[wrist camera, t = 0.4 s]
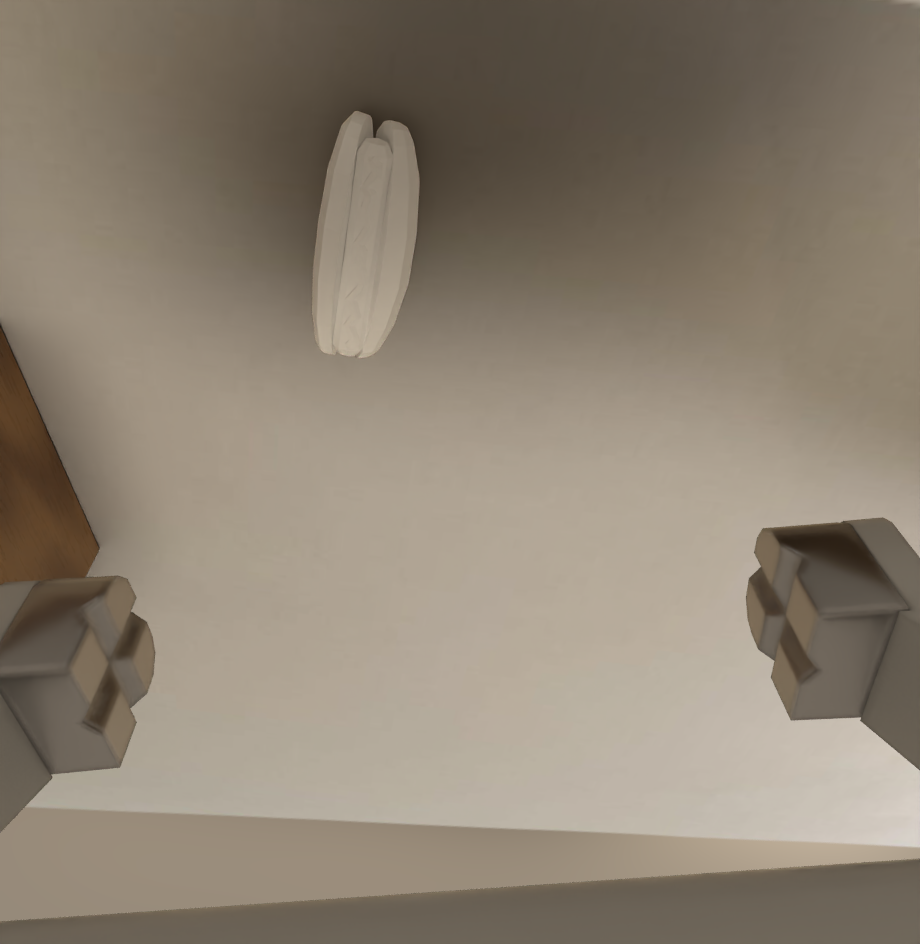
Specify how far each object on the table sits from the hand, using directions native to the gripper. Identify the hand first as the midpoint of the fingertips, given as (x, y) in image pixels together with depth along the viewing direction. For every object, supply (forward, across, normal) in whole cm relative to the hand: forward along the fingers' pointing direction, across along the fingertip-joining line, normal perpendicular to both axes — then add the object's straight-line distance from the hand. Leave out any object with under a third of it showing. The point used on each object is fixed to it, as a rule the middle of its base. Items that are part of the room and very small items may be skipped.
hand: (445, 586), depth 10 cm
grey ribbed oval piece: (+19, +2, +1) cm, 19 cm away
